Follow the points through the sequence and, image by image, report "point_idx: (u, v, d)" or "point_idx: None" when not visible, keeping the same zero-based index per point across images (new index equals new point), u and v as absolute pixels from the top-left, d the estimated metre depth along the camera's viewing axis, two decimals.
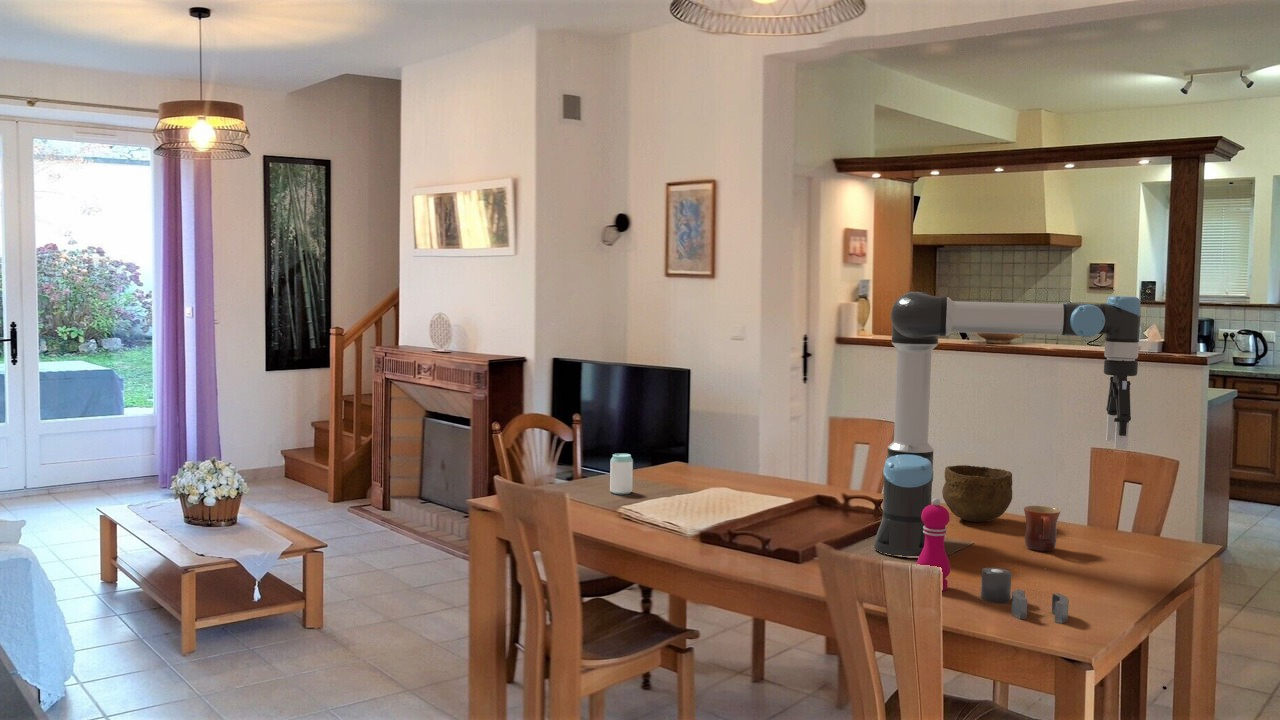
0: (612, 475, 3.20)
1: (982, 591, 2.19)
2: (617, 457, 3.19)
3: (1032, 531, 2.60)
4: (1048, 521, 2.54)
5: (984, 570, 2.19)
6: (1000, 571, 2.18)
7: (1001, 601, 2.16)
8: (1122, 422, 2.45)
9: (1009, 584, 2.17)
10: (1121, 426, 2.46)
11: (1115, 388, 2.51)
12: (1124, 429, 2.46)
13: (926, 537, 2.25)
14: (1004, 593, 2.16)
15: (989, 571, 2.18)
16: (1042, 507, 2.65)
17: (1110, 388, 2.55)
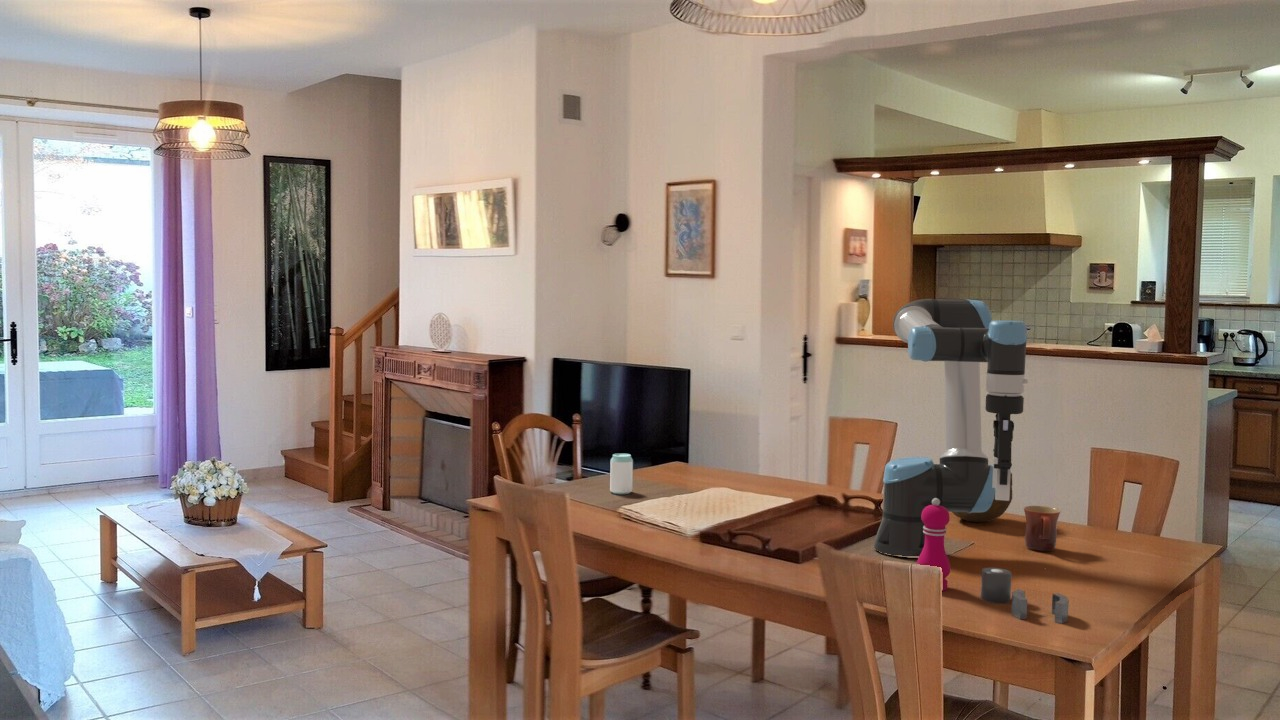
0: (612, 475, 3.20)
1: (982, 591, 2.19)
2: (617, 457, 3.19)
3: (1032, 531, 2.60)
4: (1048, 521, 2.54)
5: (984, 570, 2.19)
6: (1000, 571, 2.18)
7: (1001, 601, 2.16)
8: (1002, 469, 2.09)
9: (1009, 584, 2.17)
10: (1001, 473, 2.09)
11: (997, 428, 2.14)
12: (1005, 477, 2.09)
13: (926, 537, 2.25)
14: (1004, 593, 2.16)
15: (989, 571, 2.18)
16: (1042, 507, 2.65)
17: (993, 427, 2.18)
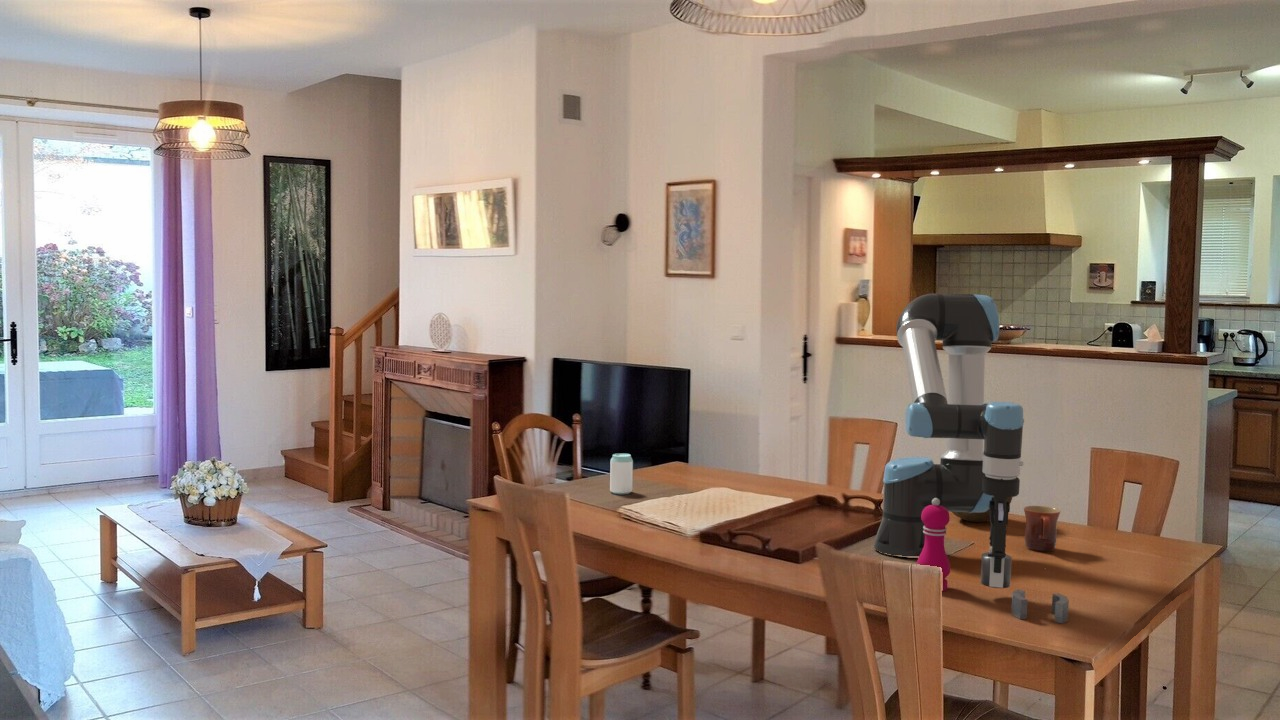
0: (612, 475, 3.20)
1: (982, 576, 2.19)
2: (617, 457, 3.19)
3: (1032, 531, 2.60)
4: (1048, 521, 2.54)
5: (984, 555, 2.20)
6: None
7: None
8: (996, 558, 2.14)
9: (1009, 569, 2.17)
10: (995, 562, 2.15)
11: (993, 512, 2.16)
12: (999, 566, 2.15)
13: (926, 537, 2.25)
14: (1004, 577, 2.17)
15: None
16: (1042, 507, 2.65)
17: None
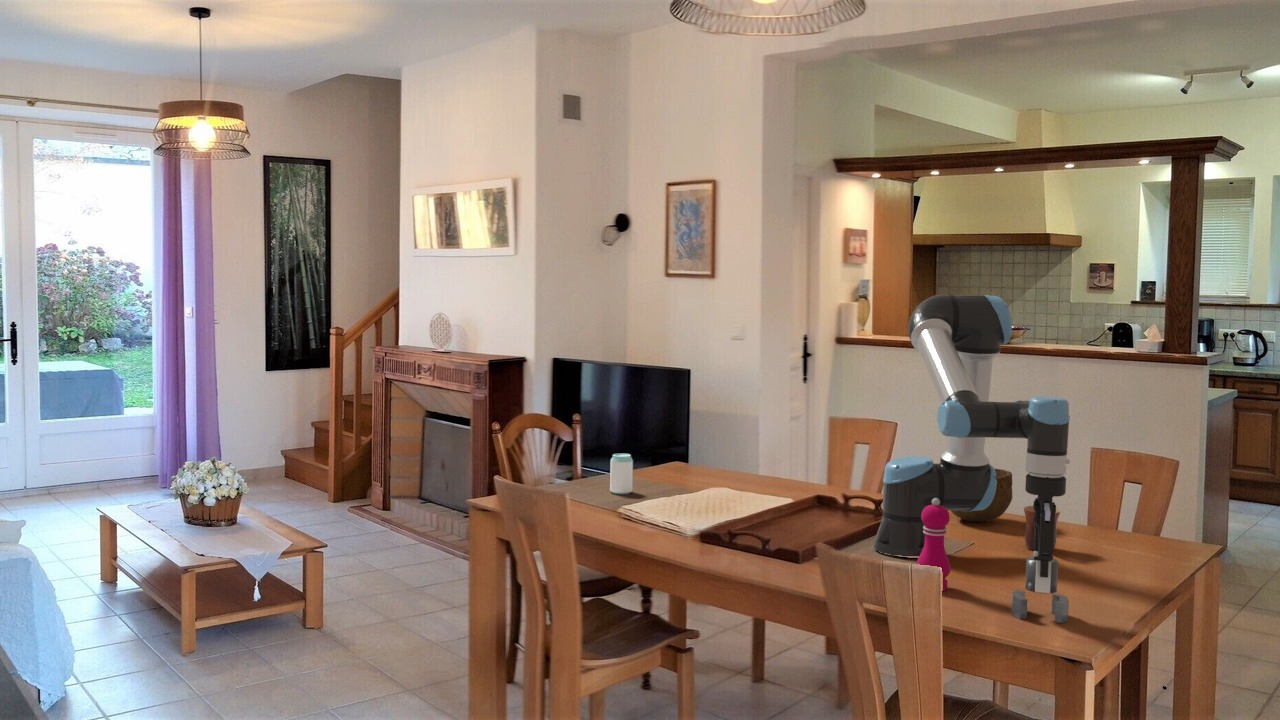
0: (612, 475, 3.20)
1: (1027, 581, 2.07)
2: (617, 457, 3.19)
3: (1032, 531, 2.60)
4: None
5: (1029, 558, 2.08)
6: None
7: None
8: (1043, 561, 2.02)
9: (1056, 573, 2.05)
10: (1042, 566, 2.03)
11: (1038, 513, 2.05)
12: (1045, 569, 2.03)
13: (926, 537, 2.25)
14: (1051, 582, 2.05)
15: (1034, 560, 2.07)
16: None
17: (1034, 509, 2.08)
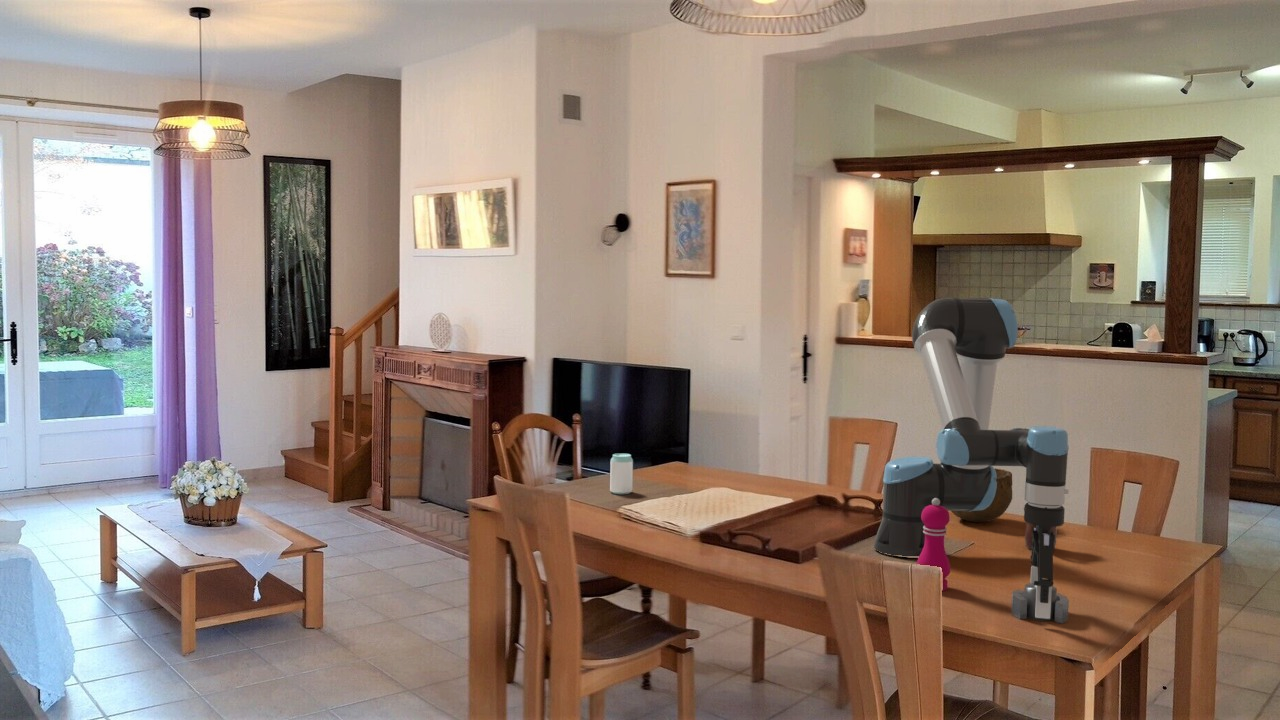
0: (612, 475, 3.20)
1: None
2: (617, 457, 3.19)
3: None
4: None
5: (1027, 586, 2.08)
6: None
7: (1046, 619, 2.05)
8: (1043, 587, 2.00)
9: (1054, 601, 2.06)
10: (1042, 591, 2.00)
11: (1037, 541, 2.05)
12: (1046, 595, 2.00)
13: (926, 537, 2.25)
14: None
15: (1032, 587, 2.07)
16: None
17: (1032, 538, 2.09)
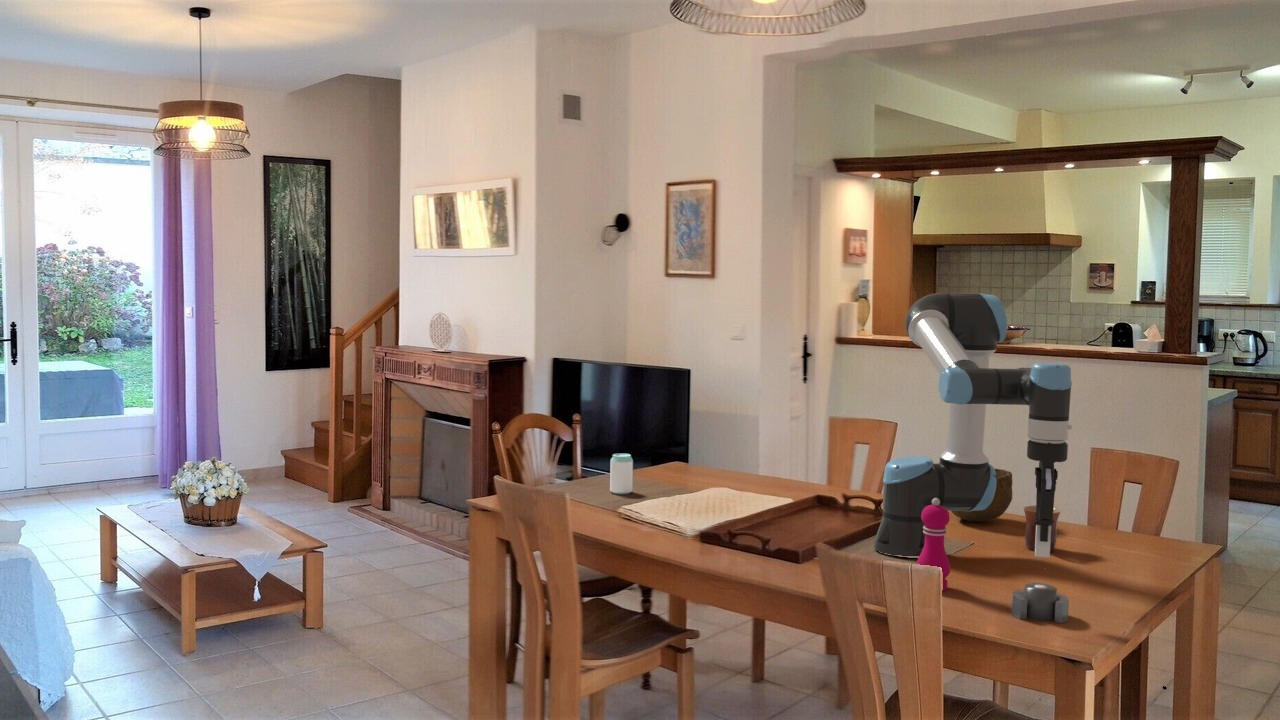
0: (612, 475, 3.20)
1: None
2: (617, 457, 3.19)
3: (1032, 531, 2.60)
4: None
5: (1027, 586, 2.08)
6: (1044, 587, 2.07)
7: (1046, 619, 2.05)
8: (1043, 526, 2.05)
9: (1054, 601, 2.06)
10: (1042, 530, 2.05)
11: (1039, 479, 2.05)
12: (1045, 534, 2.05)
13: (926, 537, 2.25)
14: (1049, 610, 2.05)
15: (1032, 587, 2.07)
16: None
17: (1035, 474, 2.07)
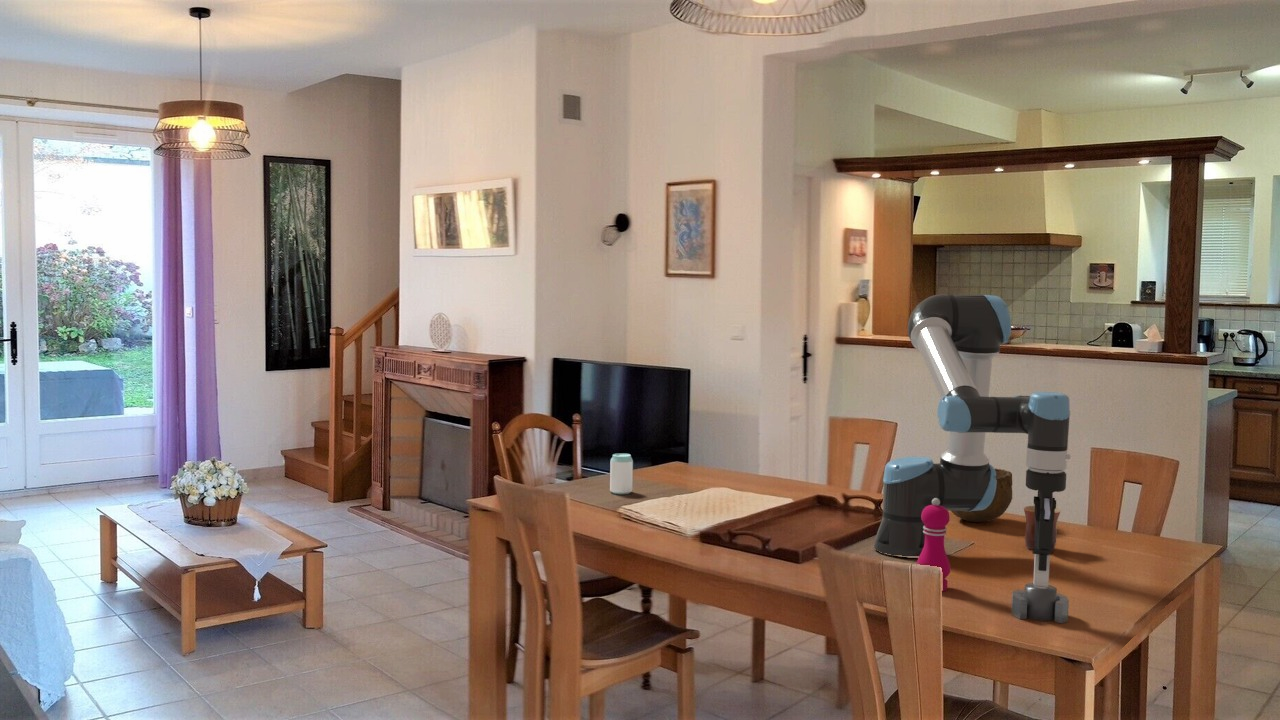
0: (612, 475, 3.20)
1: None
2: (617, 457, 3.19)
3: (1032, 531, 2.60)
4: None
5: (1027, 586, 2.08)
6: (1044, 587, 2.07)
7: (1046, 618, 2.05)
8: (1041, 555, 2.05)
9: (1054, 600, 2.06)
10: (1040, 559, 2.06)
11: (1038, 509, 2.05)
12: (1044, 563, 2.06)
13: (926, 537, 2.25)
14: (1049, 610, 2.05)
15: (1033, 587, 2.07)
16: None
17: (1034, 503, 2.08)
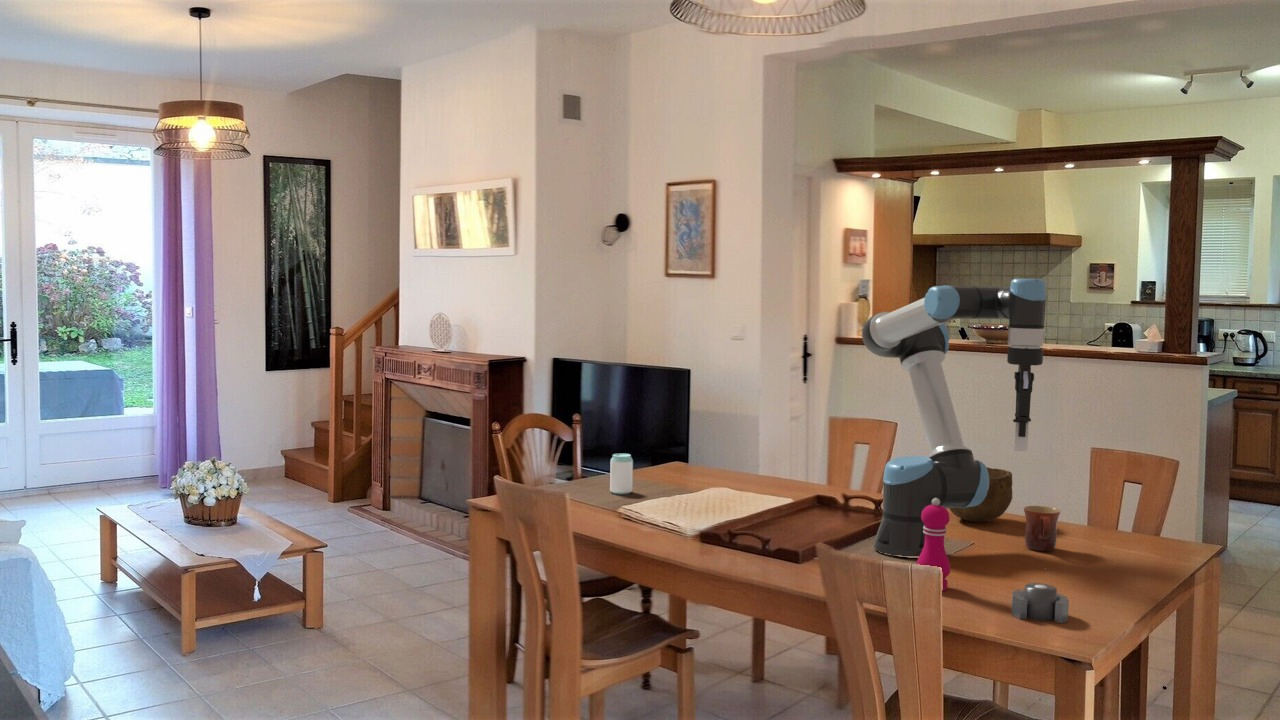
0: (612, 475, 3.20)
1: None
2: (617, 457, 3.19)
3: (1032, 531, 2.60)
4: (1048, 521, 2.54)
5: (1027, 586, 2.08)
6: (1044, 587, 2.07)
7: (1046, 619, 2.05)
8: (1021, 422, 2.31)
9: (1054, 601, 2.06)
10: (1020, 427, 2.32)
11: (1018, 381, 2.31)
12: (1023, 430, 2.31)
13: (926, 537, 2.25)
14: (1049, 610, 2.05)
15: (1033, 587, 2.07)
16: (1042, 507, 2.65)
17: (1015, 378, 2.34)
